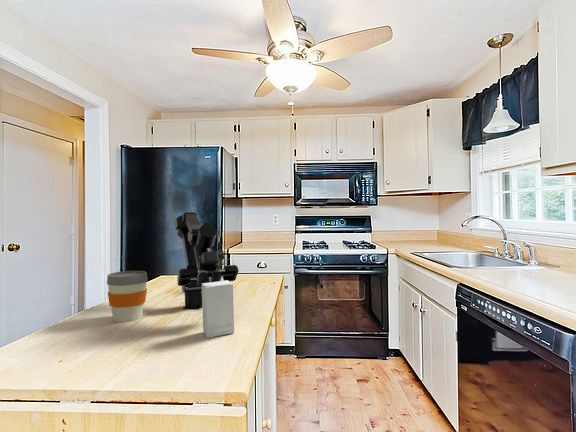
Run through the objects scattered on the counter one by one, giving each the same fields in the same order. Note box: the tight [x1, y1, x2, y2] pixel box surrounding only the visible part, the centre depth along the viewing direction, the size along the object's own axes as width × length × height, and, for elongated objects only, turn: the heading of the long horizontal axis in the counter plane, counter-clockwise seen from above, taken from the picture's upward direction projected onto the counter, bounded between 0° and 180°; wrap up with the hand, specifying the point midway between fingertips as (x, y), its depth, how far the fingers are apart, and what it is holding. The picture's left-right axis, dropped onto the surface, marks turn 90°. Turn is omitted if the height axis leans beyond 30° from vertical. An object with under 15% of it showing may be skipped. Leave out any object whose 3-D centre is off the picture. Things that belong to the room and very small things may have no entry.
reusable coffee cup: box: [106, 270, 149, 323], centre depth 119 cm, size 12×13×15 cm
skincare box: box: [201, 280, 235, 339], centre depth 104 cm, size 8×6×15 cm
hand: (213, 297), depth 109 cm, fingers closed
